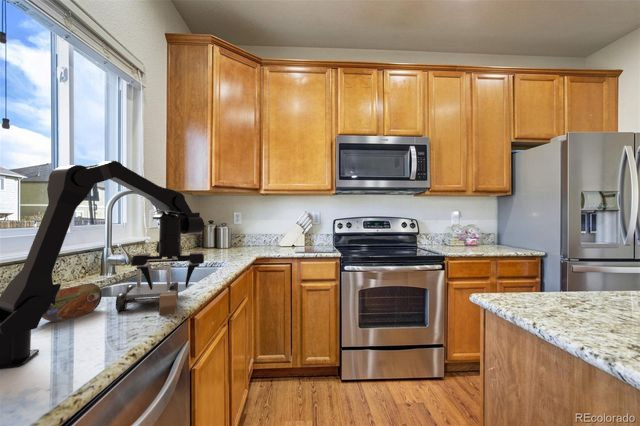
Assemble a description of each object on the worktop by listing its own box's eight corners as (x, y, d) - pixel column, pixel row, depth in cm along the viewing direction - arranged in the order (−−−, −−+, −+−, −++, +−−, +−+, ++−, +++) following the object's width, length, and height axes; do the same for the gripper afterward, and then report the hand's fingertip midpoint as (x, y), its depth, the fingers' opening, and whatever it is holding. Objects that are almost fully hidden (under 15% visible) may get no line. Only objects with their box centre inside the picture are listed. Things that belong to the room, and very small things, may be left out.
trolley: (173, 308, 92) (174, 273, 92) (115, 313, 87) (116, 275, 87) (178, 294, 108) (179, 265, 108) (129, 298, 103) (130, 266, 103)
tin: (43, 326, 76) (45, 292, 76) (35, 324, 77) (36, 291, 77) (102, 309, 91) (103, 281, 91) (94, 308, 92) (95, 280, 92)
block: (174, 314, 87) (175, 295, 87) (159, 315, 86) (159, 296, 86) (176, 309, 92) (176, 291, 92) (161, 310, 90) (162, 292, 90)
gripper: (204, 233, 100) (203, 280, 100) (139, 233, 93) (138, 284, 93) (204, 235, 89) (203, 288, 89) (131, 235, 83) (129, 293, 83)
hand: (169, 288), depth 89 cm, fingers open, 9 cm apart
